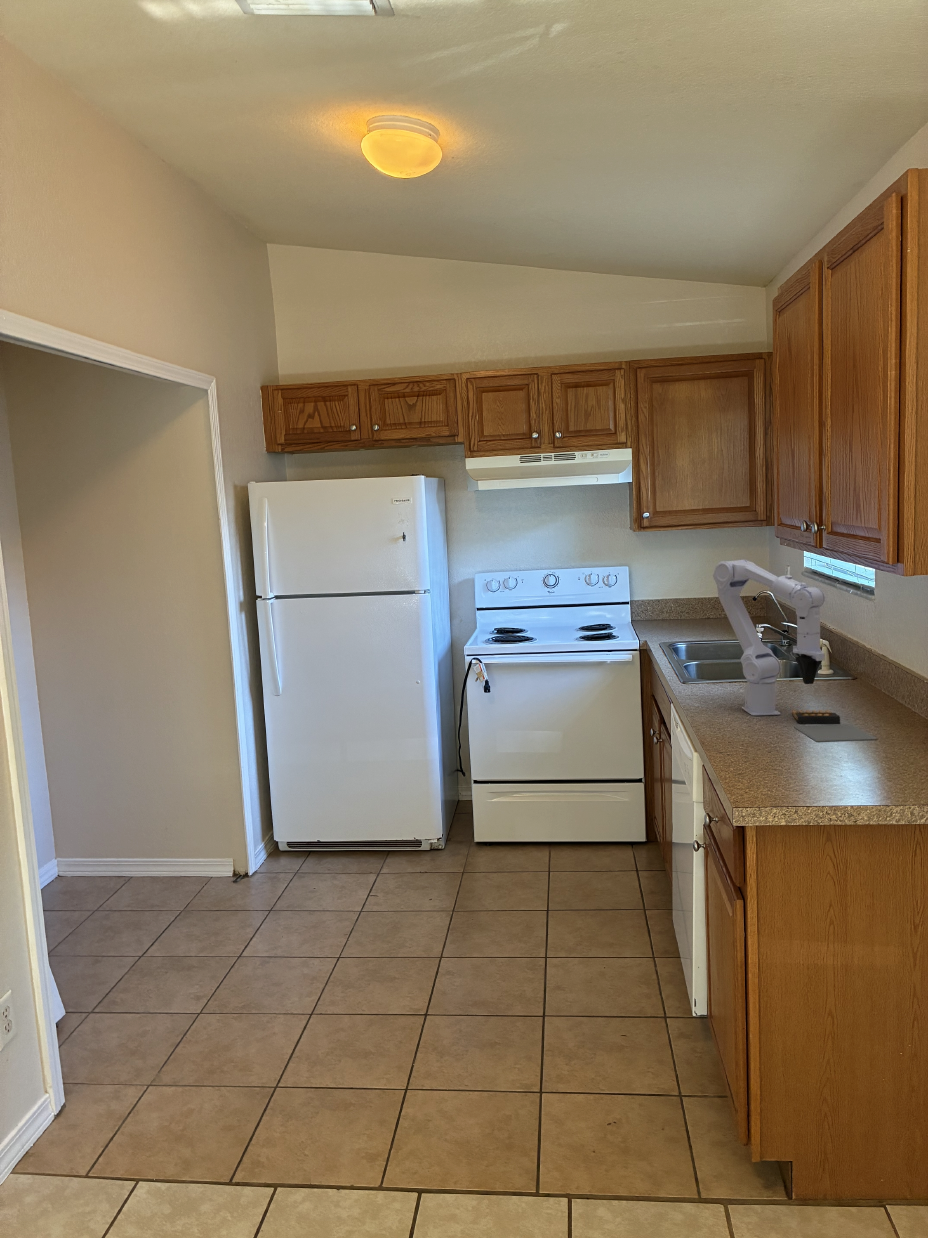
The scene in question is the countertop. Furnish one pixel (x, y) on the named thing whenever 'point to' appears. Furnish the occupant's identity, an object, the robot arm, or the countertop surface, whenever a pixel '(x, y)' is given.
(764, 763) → the countertop surface
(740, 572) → the robot arm
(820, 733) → the mat
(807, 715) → the ammunition clip
